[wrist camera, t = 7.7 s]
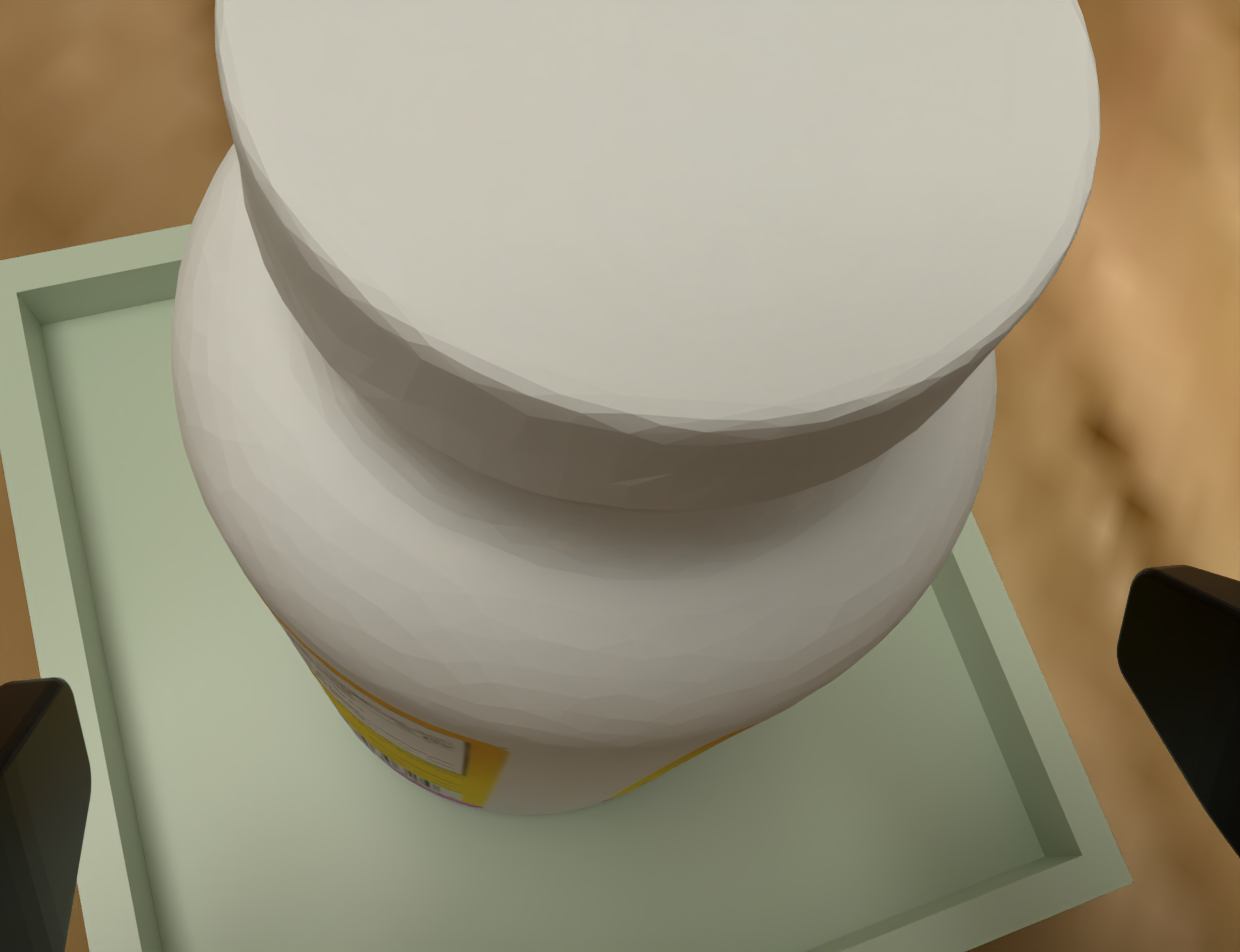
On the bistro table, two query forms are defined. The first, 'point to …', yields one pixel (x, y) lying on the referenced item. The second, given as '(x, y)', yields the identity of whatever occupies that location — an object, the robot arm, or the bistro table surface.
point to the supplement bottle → (611, 350)
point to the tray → (438, 828)
